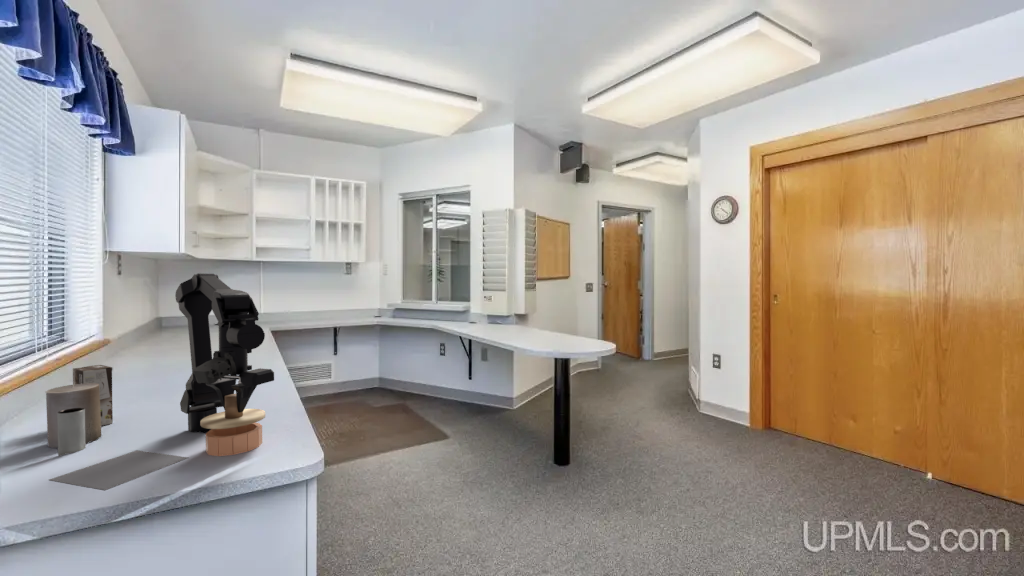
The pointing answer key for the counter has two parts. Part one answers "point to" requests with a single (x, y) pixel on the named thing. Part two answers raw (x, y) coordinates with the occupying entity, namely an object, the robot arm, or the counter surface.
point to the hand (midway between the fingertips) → (234, 411)
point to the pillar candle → (74, 398)
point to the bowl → (233, 440)
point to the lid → (232, 416)
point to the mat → (118, 470)
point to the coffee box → (104, 379)
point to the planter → (71, 430)
